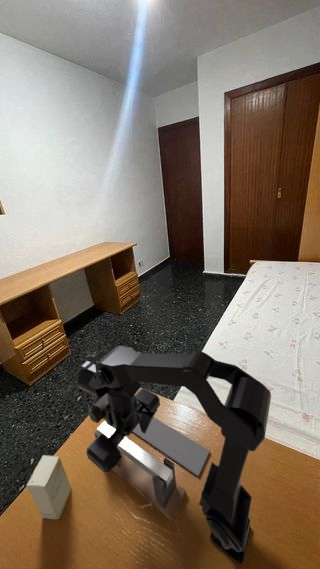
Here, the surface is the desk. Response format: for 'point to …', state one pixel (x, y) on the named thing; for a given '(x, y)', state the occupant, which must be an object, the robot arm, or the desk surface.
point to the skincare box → (49, 487)
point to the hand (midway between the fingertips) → (131, 448)
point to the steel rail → (140, 456)
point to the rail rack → (152, 485)
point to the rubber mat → (175, 445)
